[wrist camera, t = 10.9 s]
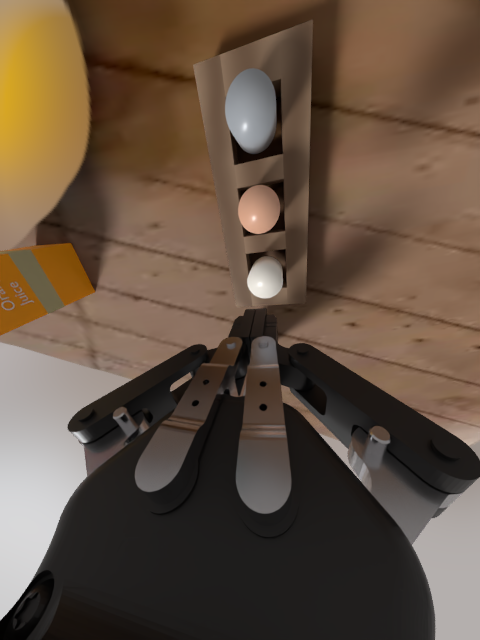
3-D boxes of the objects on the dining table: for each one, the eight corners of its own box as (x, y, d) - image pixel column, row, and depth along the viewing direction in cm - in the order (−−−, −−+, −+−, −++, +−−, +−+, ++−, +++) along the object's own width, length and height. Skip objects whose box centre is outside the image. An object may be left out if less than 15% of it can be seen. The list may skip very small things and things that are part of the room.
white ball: (281, 254, 23) (282, 262, 20) (283, 285, 25) (283, 297, 22) (249, 257, 24) (245, 266, 21) (253, 287, 26) (249, 299, 22)
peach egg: (279, 185, 20) (279, 180, 16) (280, 227, 22) (281, 230, 18) (242, 192, 21) (235, 189, 17) (246, 232, 23) (241, 236, 19)
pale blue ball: (275, 89, 17) (274, 59, 13) (277, 148, 19) (277, 135, 15) (231, 103, 17) (220, 78, 14) (238, 158, 19) (229, 147, 16)
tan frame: (307, 47, 17) (312, 19, 14) (303, 294, 28) (305, 303, 26) (204, 83, 19) (193, 64, 17) (239, 299, 31) (236, 307, 28)
